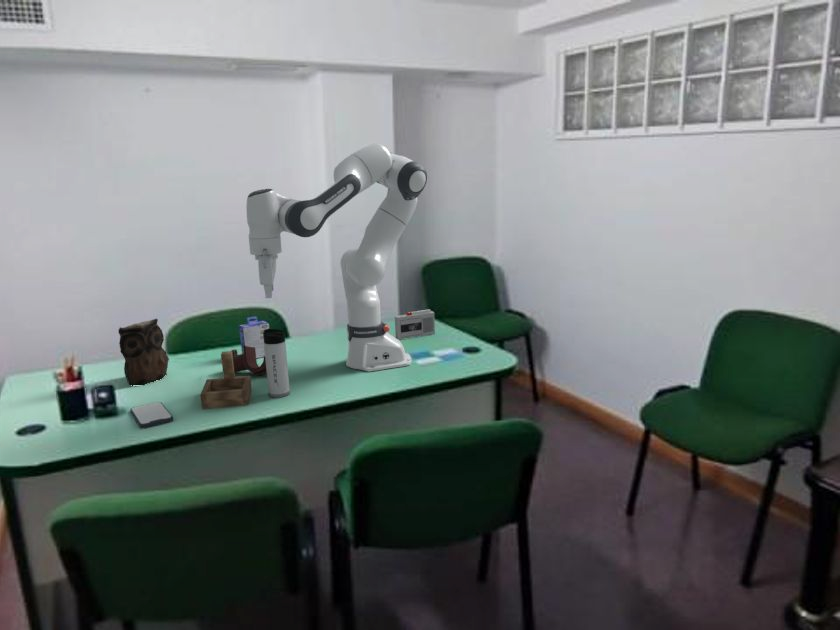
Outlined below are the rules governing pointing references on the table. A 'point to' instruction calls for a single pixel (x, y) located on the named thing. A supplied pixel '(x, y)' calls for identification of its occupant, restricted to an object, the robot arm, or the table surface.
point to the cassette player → (415, 324)
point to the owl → (143, 352)
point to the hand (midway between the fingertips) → (269, 294)
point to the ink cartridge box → (253, 335)
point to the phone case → (151, 415)
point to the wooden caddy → (226, 387)
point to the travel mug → (276, 363)
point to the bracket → (248, 361)
